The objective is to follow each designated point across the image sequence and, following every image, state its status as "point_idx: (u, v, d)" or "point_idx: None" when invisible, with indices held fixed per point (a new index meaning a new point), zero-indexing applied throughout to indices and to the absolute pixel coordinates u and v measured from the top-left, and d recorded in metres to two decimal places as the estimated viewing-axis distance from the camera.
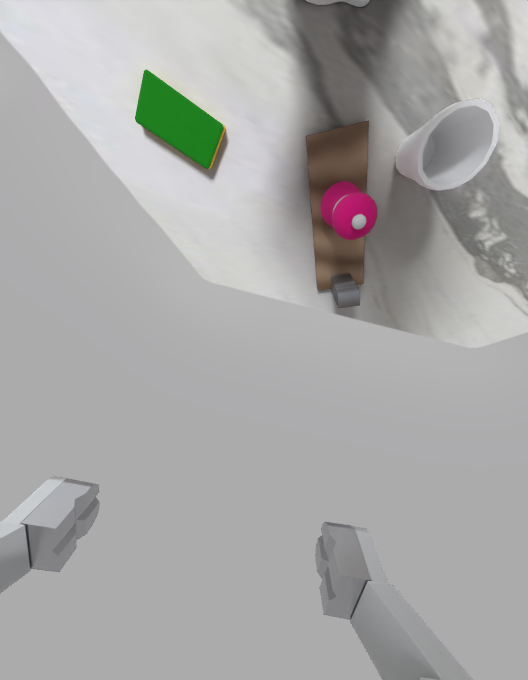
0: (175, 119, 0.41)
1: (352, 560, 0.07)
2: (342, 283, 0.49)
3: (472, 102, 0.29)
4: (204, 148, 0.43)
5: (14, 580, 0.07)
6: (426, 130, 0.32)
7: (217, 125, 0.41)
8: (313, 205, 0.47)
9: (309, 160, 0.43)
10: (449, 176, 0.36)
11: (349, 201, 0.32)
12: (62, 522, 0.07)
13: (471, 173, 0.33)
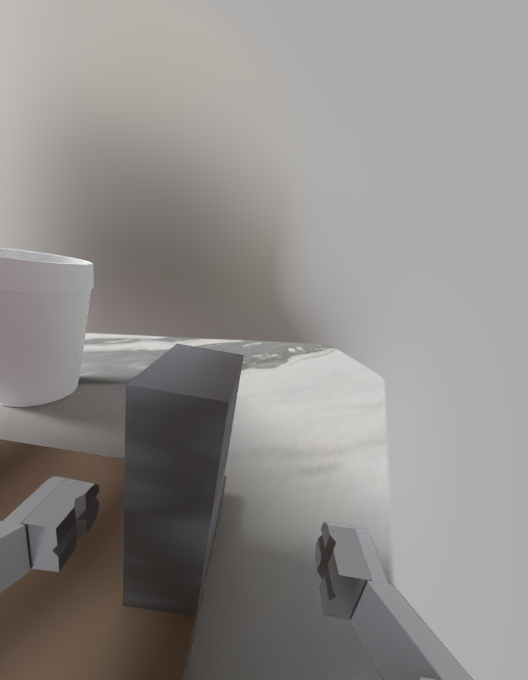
0: None
1: (351, 560, 0.07)
2: None
3: None
4: None
5: (14, 580, 0.07)
6: None
7: None
8: None
9: None
10: None
11: None
12: (62, 522, 0.07)
13: (85, 263, 0.23)
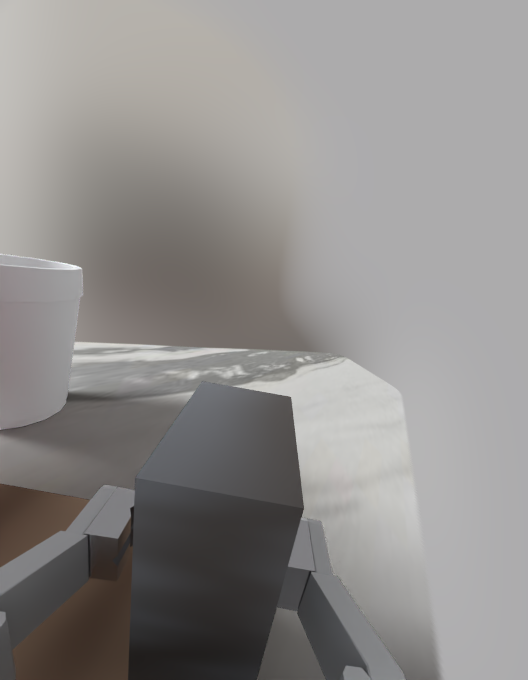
0: None
1: (299, 551, 0.07)
2: None
3: None
4: None
5: (75, 590, 0.07)
6: None
7: None
8: None
9: None
10: None
11: None
12: (121, 532, 0.07)
13: (73, 268, 0.21)
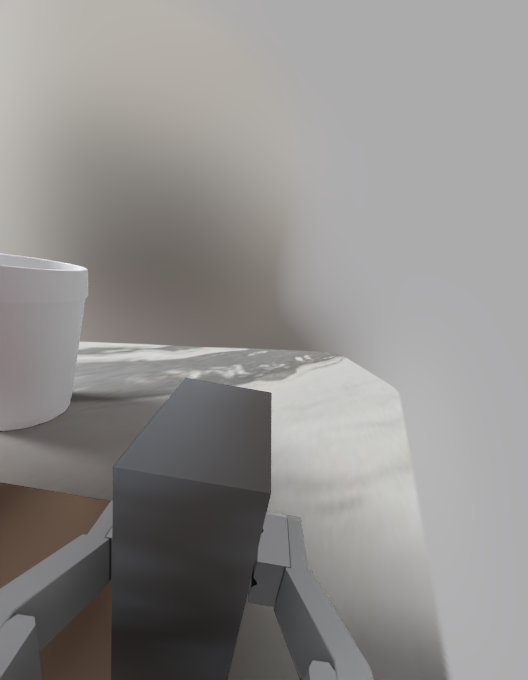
0: None
1: (275, 547, 0.07)
2: None
3: None
4: None
5: (96, 593, 0.07)
6: None
7: None
8: None
9: None
10: None
11: None
12: None
13: (79, 269, 0.21)
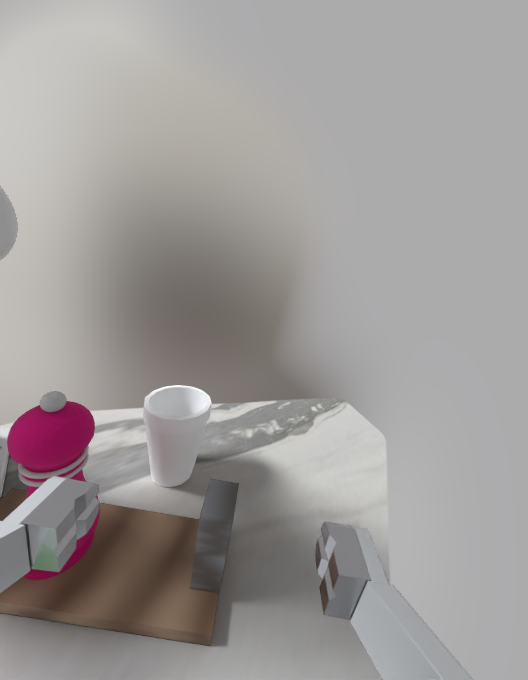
0: None
1: (351, 560, 0.07)
2: None
3: (152, 392, 0.37)
4: None
5: (14, 580, 0.07)
6: (148, 414, 0.33)
7: None
8: (23, 599, 0.22)
9: None
10: None
11: None
12: (62, 522, 0.07)
13: (205, 396, 0.39)
